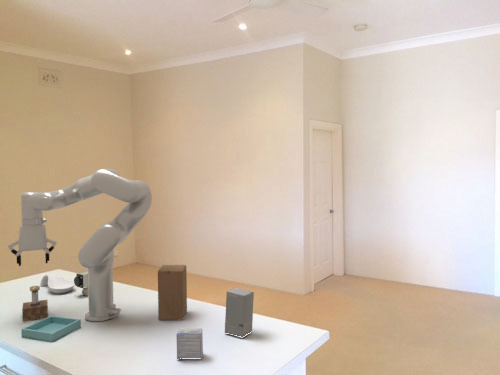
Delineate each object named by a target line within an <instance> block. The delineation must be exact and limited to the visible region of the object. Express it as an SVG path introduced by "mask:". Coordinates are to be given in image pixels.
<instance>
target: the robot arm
mask: <svg viewBox="0 0 500 375" xmlns="http://www.w3.org/2000/svg"><path fill="white" fill-rule="evenodd" d="M101 194H105V195H107V196H110V197H113V198H114V199H117V200H120V201H121V202H125V203H127V204H126V205H125V206H124V207H123V208H122V209H121V211H120V212H119V213H118V214H117V215H116V216H115V218H113V219H112V220H110V221H108V222H106V223H104V224H102V225H101V226H99V227H98V228H97V229H96V230H95V231H94V233H93V234H91V236H90V238H88V239H87V240H86V241H85V243H84V244H83V245H82V246H81V248H80V250H79V251H78V255H77V257H78V258H77V259H78V262H79V264H80V265H81V266H82V267H84V268H86V269H87V270H88V296H87V297H88V298H87V299H88V312H86V313H85V314H84V319H85V320H87V321H89V322H103V321H109V320H111V319H113V318H116V317H117V316H119V315H120V314H121V312H122V308H118V307H117V306H116V303H114V274H113V273H114V272H113V271H114V270H113V269H114V257H115V250H114V249H115V248H116V247H117V246H118V245H120V244H122V243H123V242H125V240H126V239H127V238H128V237H129V235H130V234H131V233H132V232H133V231H134V230H135V229H136V227H137V226H138V225H139V223H140V222H141V221H142V220H143V218H144V217H145V216H146V215H147V214H148V212H149V210H150V208H151V206H152V202H153V199H152V198H153V195H152V190H151V188H150V187H149V185H148V184H147V183H146V181H143V180H140V179H136V180H134V179H133V180H130V179H127V178H125V177H122V176H121V174H120V173H119V171H117V170H116V169H113V168H101V169H98V170H96V171H94V173H93V174H90V175H87V176H85V177H82V178H79V179H77V180H76V182H75V183H73V184H72V185H69V186H67V187H63V188H61V189H57V190H52V191H44V192H39V191H25V192H22V193H21V195H20V204H21V206H20V207H21V225H20V226H19V230H18V239H17V240H16V241H14V242H13V243H10V244H9V245H7V246H8V247H7V248H8V249H9V251H10V252H11V253H12V254H13V255H14V256H16V264H17V265H18V267H20V266H22V256H21V254H22V253H23V252H29V251H40V250H41V251H42V250H43V252H45V253H44V254H45V255H44V256H45V264H48V262H49V261H50V254H51V252H52V251H53V250H55V248H56V245H57V241H55V240H52V239H49V238H48V237H47V236H48V235H47V229H46V225H45V224H44V223H47V218H44V217H43V214H44V213H43V211H45V212H48V211H49V212H50V211H54V210H58V209H62V208H65V207H67V206H71V205H73V204H76V203H79V202H81V201H85V200H87V199H88V200H89V199H91V198H93V197H96V196H98V195H101ZM48 243H49V244H51V246H50V247H49V248H48V247H47V246H48ZM16 246H18V250H16V249H15V248H14V247H16Z"/></svg>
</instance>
